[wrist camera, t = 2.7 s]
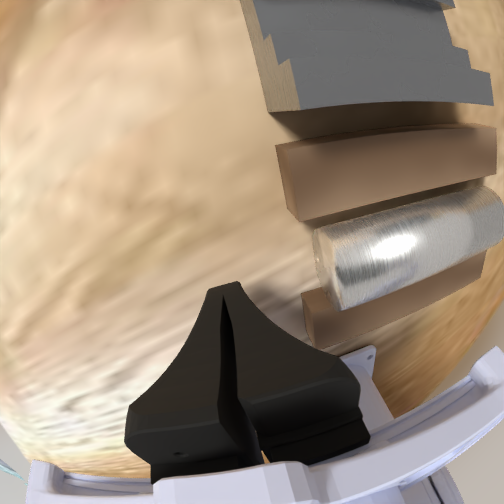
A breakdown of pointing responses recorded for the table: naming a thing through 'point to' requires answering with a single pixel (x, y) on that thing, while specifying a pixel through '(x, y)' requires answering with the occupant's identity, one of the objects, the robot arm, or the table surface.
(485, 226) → the axle
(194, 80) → the table surface
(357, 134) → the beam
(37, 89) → the table surface
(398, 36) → the v block
